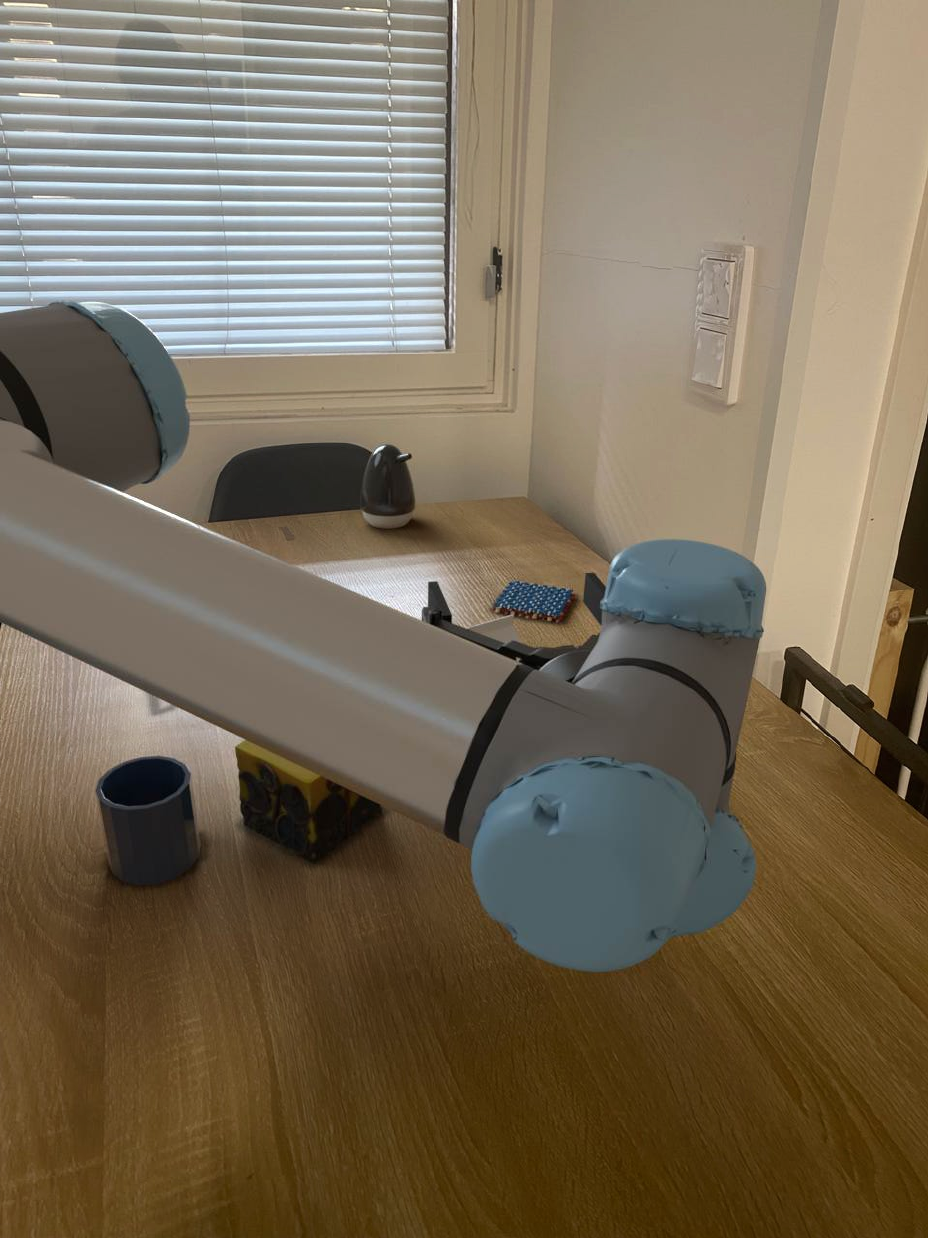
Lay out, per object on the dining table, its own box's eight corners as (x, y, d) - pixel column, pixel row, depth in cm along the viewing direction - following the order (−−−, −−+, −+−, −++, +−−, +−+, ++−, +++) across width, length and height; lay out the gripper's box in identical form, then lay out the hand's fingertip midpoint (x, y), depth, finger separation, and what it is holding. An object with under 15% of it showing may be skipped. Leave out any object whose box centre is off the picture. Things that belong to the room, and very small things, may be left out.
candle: (312, 779, 97) (307, 699, 92) (385, 815, 92) (383, 732, 87) (239, 829, 89) (230, 743, 85) (314, 871, 84) (308, 783, 80)
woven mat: (561, 628, 131) (562, 615, 130) (490, 616, 134) (491, 603, 133) (576, 599, 140) (577, 587, 139) (510, 589, 143) (511, 577, 142)
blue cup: (93, 881, 82) (76, 800, 78) (141, 826, 89) (128, 750, 85) (173, 897, 81) (160, 816, 77) (215, 840, 88) (206, 763, 84)
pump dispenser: (394, 539, 162) (393, 455, 155) (349, 527, 167) (346, 445, 160) (427, 523, 169) (427, 443, 163) (383, 512, 174) (381, 434, 168)
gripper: (400, 794, 57) (365, 641, 76) (761, 757, 62) (645, 622, 81) (399, 691, 54) (363, 557, 73) (781, 661, 59) (655, 543, 78)
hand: (511, 591), depth 77 cm, fingers open, 13 cm apart
